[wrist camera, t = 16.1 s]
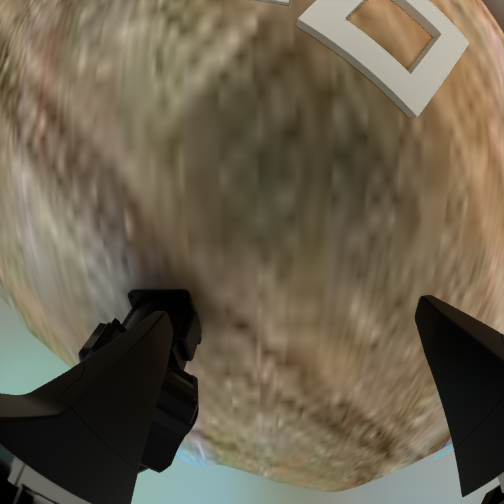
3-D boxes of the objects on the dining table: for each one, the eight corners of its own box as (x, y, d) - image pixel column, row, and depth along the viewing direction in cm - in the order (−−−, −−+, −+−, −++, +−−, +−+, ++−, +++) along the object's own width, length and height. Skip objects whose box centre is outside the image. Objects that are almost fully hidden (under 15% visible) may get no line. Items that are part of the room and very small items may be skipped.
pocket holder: (408, 117, 16) (417, 117, 15) (296, 25, 14) (297, 18, 13) (460, 45, 12) (469, 42, 11) (365, -37, 10) (370, -44, 9)
